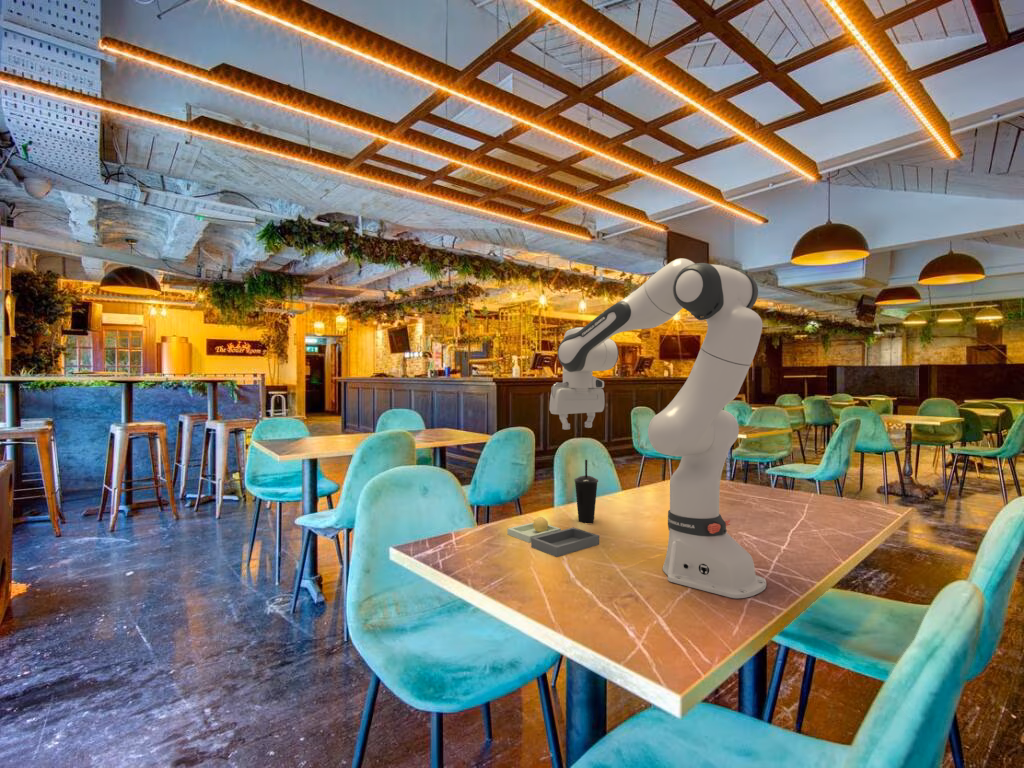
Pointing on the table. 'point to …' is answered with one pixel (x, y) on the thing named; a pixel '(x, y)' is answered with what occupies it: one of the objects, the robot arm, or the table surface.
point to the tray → (529, 532)
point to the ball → (540, 524)
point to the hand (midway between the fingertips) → (577, 428)
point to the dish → (564, 541)
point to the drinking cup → (586, 497)
